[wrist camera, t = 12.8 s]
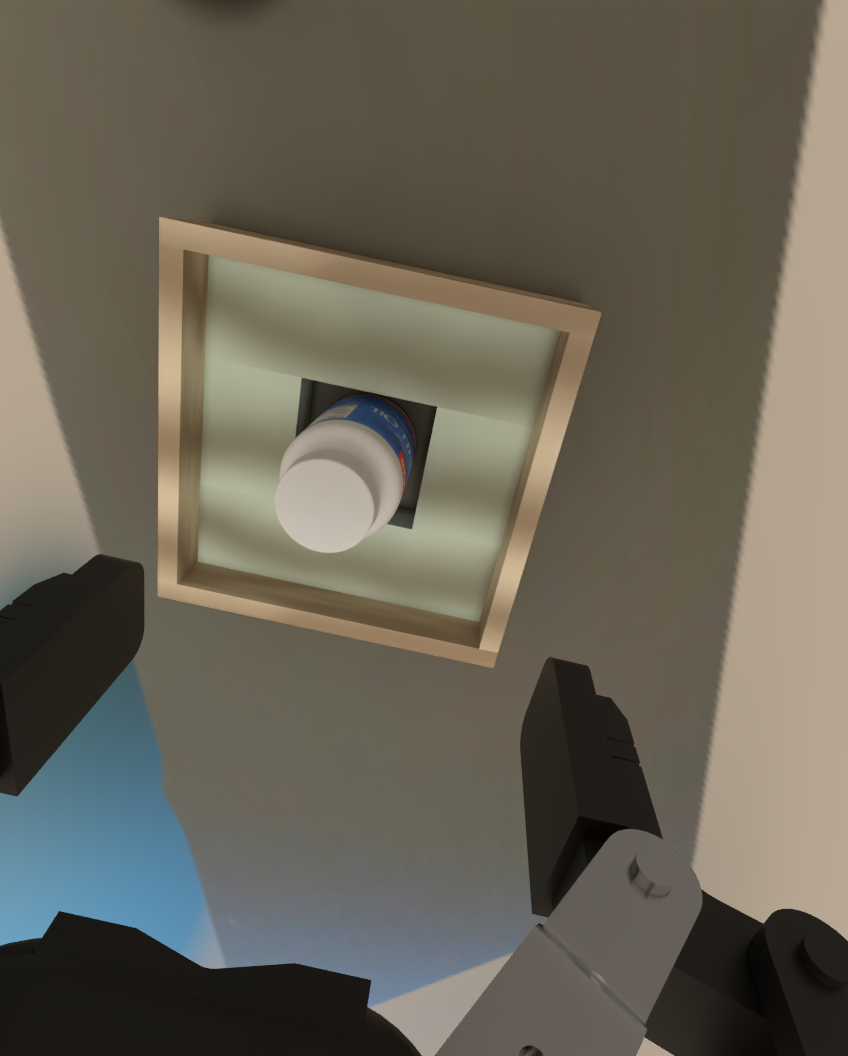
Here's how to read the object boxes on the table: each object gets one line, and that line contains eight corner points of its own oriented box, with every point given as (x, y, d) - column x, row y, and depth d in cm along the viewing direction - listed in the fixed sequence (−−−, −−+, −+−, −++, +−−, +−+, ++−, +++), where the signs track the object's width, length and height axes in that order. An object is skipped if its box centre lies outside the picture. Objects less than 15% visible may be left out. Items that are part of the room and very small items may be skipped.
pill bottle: (434, 465, 32) (417, 544, 24) (348, 503, 34) (302, 591, 25) (388, 372, 31) (351, 419, 22) (299, 415, 32) (230, 477, 23)
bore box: (210, 222, 28) (159, 216, 24) (582, 303, 28) (602, 312, 24) (198, 553, 36) (157, 596, 31) (491, 616, 36) (493, 667, 31)
